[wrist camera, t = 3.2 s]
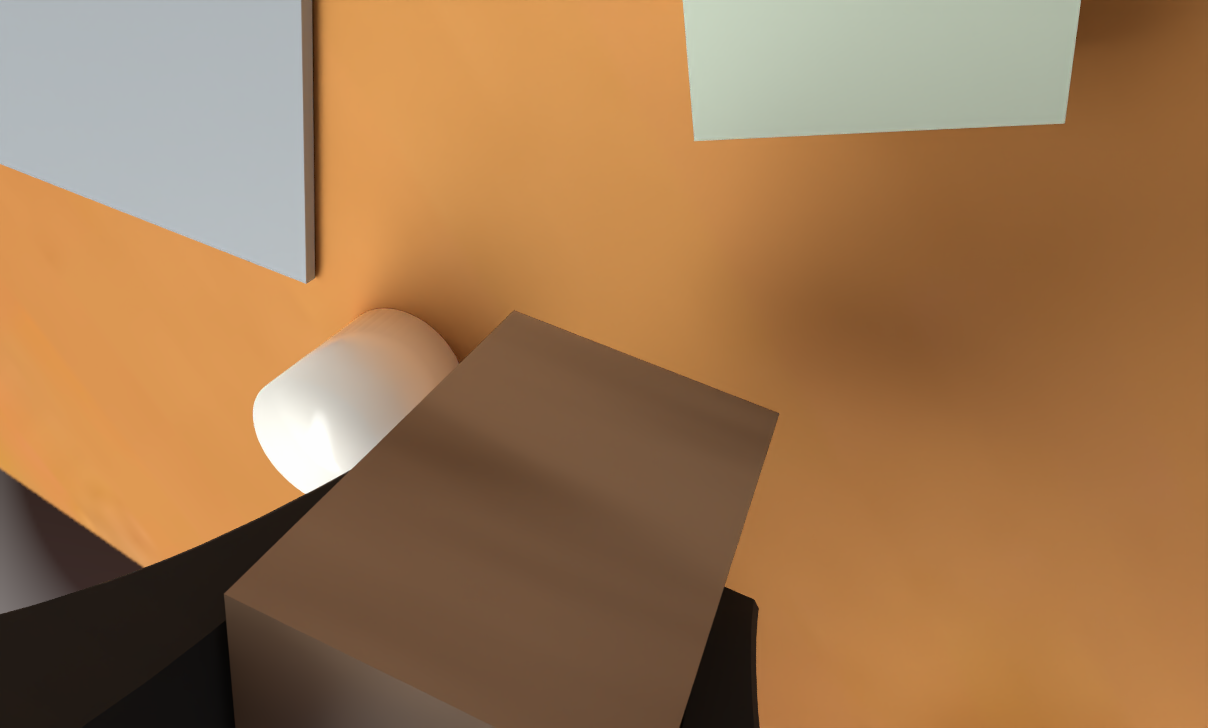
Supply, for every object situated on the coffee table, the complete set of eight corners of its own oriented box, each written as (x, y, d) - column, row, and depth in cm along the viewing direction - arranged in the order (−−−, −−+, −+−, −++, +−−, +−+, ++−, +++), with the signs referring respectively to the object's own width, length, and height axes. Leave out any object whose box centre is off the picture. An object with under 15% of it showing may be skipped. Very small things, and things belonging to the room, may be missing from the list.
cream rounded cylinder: (458, 444, 25) (383, 530, 21) (344, 397, 25) (257, 473, 22) (471, 337, 22) (390, 415, 19) (346, 288, 23) (248, 355, 20)
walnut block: (698, 602, 15) (561, 995, 10) (480, 505, 16) (242, 820, 10) (779, 413, 12) (653, 805, 7) (513, 310, 13) (223, 593, 8)
